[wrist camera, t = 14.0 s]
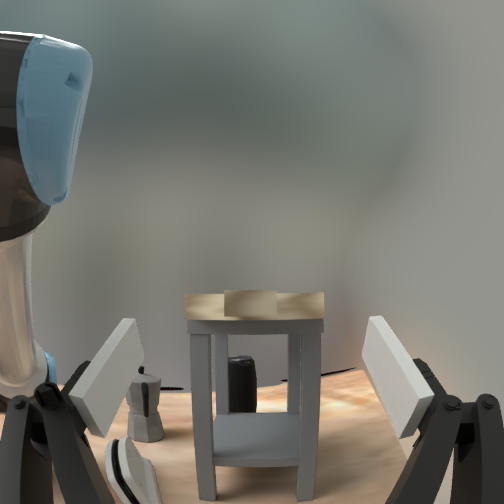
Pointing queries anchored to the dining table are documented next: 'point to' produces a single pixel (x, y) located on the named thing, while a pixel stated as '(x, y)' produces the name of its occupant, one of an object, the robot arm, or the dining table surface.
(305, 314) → the cutting board
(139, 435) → the coffeepot
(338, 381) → the dining table surface
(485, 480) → the robot arm
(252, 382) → the portable speaker
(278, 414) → the side table
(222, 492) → the dining table surface
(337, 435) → the dining table surface
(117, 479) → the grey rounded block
